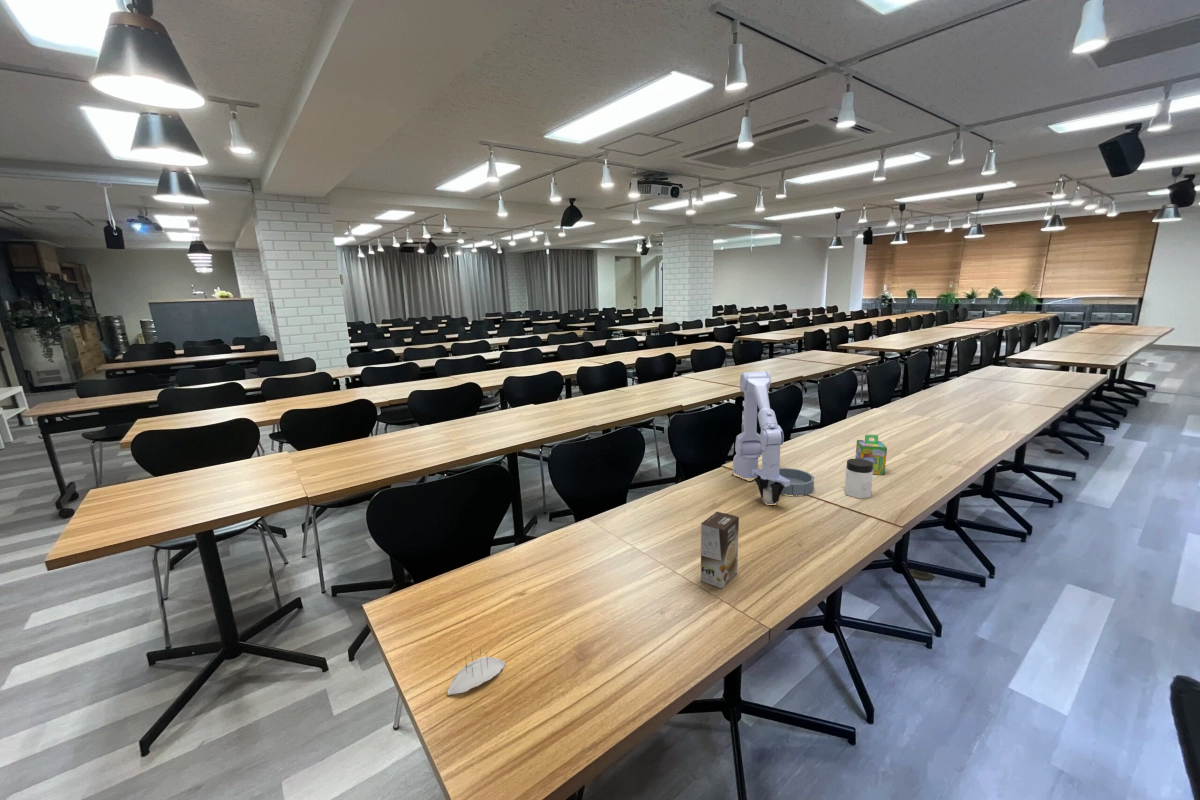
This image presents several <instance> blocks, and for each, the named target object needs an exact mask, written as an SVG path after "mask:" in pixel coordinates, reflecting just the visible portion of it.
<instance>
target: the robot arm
mask: <svg viewBox="0 0 1200 800" xmlns="http://www.w3.org/2000/svg"><path fill="white" fill-rule="evenodd" d="M771 380H772V377H771V374H770V372H769V371H768V370H765V371H751V372H750V371H748V372H746V371H743V372H741V374H740V377H739V389H740V392H743V394H744V399H743V400H744V406H743V407H744V409H743V431H742V432H741V433H739V434H738V435H736V437H735V443H734V445H735V446H734V448H735V449H734V451H735V453H736V454H735V455H734V456H733V461H732V474H733V473H735V474H737V475H739V476H741V477H743V478H750V479H751V478H755V480H754V482H755V484H756V486H757V488H758V490H759V494H760V498H761V499H763V489H764V488H767V487H768V482H769V480H771V481H774V482H775V483H773V484H770V486H771V489H772V501H773V503H776V504H777V503H778V502H779V500H780V496H781V495H780V494H781V492H782V490H783V489H784V487H788V486H790V480H788V479H786V478H784V477H783V476H781V475H780V474H779V468H781V467H780V466H781V465H780V463H781V446H782V445H784V440H785V439H784V438H785V436H784V431H783V429H782V427H781V426H780V425H779V424H778V420H777V417H776V416H777V415H776V413H775V411H774V410H773V409H772V408H771V406H770V399H769V390H770V387H771V384H772V381H771ZM758 409H759V411H758ZM758 423H759V428H760V433H758V432H757V430H758V429H757V427H758V425H757V424H758ZM760 457H761V468H759V458H760ZM756 477H757V478H756Z"/></svg>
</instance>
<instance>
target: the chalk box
mask: <svg viewBox="0 0 1200 800" xmlns="http://www.w3.org/2000/svg"><path fill="white" fill-rule="evenodd" d="M871 438H873V439H874V440H869V439H871ZM887 454H888V447H887V446H885V443H883V442H882V440H881V441H880V440H879V434H865V435H864V439H857V440H856V445H855V458H854V459H864V460H868V461H870V462H872V463H873V470H872V472H873V475H875V474H876V475H877V476H878V475H880V476H885V472H886V461H887V456H888V455H887Z"/></svg>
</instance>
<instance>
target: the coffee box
mask: <svg viewBox="0 0 1200 800" xmlns="http://www.w3.org/2000/svg"><path fill="white" fill-rule="evenodd" d="M739 518H740V517H739V516H736V515H733V514H730V513H726V512H720V511H716V512H714V513H713V514H712V515H710V516H709V517H708V518H707V519H705V520H704V521H702V522H700V531H701V532H700V581H701V582H704V583H707V584H708V585H712V586H714V587H717V588H719V589H723V588H725V586H726V585H727V584H729V582H730V581H731V580H732V579H733V578H734V577H735V576H736V575H737V574H738V565H739V564H738V562H739V559H738V557H739V525H740V524H739V521H740V520H739ZM736 573H737V574H736ZM735 574H736V575H735Z"/></svg>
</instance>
